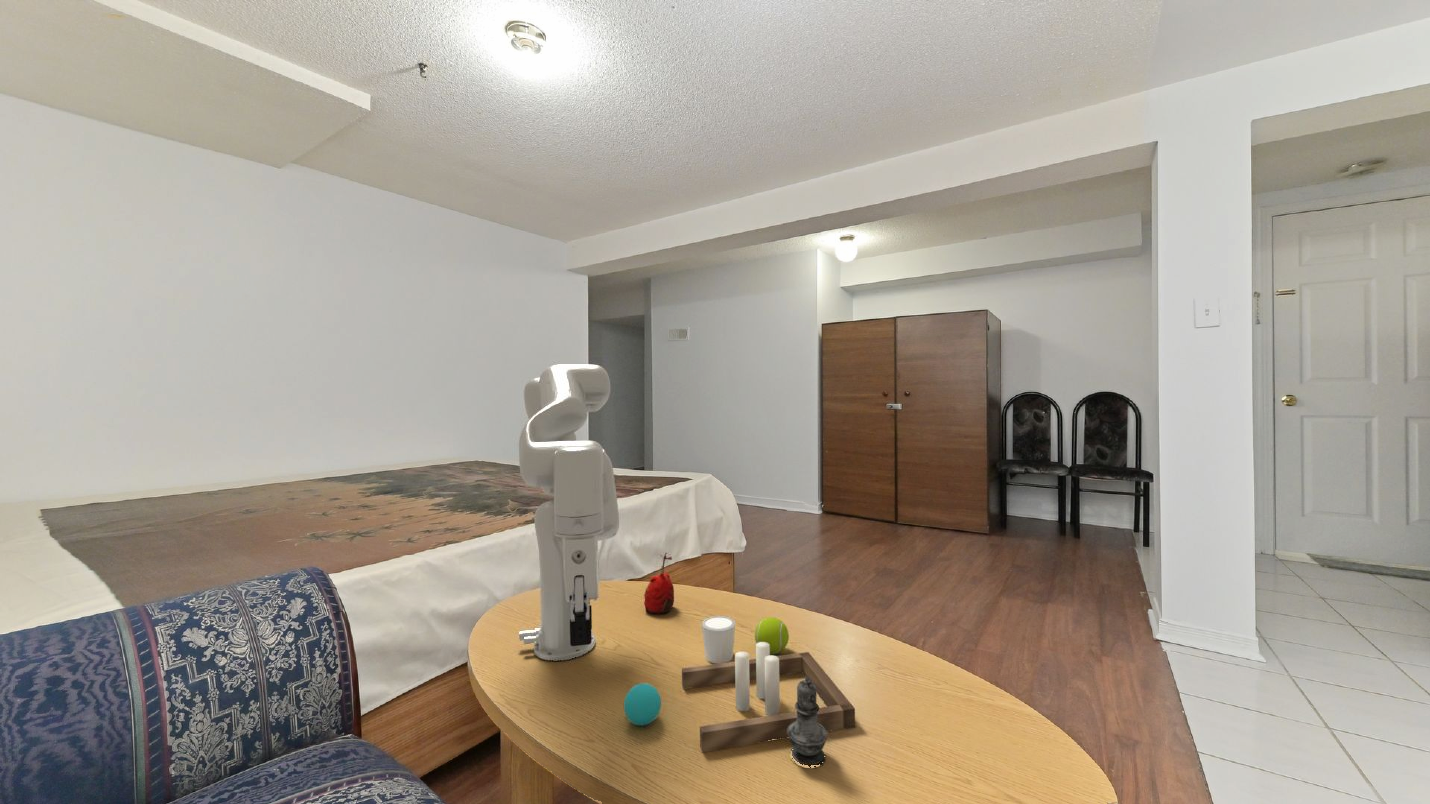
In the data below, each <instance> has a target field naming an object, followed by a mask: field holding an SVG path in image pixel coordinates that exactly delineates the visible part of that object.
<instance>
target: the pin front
mask: <svg viewBox="0 0 1430 804" xmlns="http://www.w3.org/2000/svg"><path fill="white" fill-rule="evenodd" d="M749 660H750V654H749V653H748V652H747V651H738V652H736V653H734V662H735V682H734V683H735V687H734V688H735V709H736V710H737V711H739V712H747V711H750V708H751V702H750V701H751V699H750V698H751V697H750V696H751V695H750V693H751V692H750V690H751V689H750V680H749Z"/></svg>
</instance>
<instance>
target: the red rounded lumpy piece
mask: <svg viewBox="0 0 1430 804" xmlns="http://www.w3.org/2000/svg"><path fill="white" fill-rule="evenodd" d="M667 554H668V552H665V554H664V555H662V554H660V556H661V557H662V559H663V560H662V565H661V566H660V567H661V572H660V574H658V575H652V576H651V577H650V581H649V583H648V584H647V587H646V588H645V590H644V594H643V596H644V602H643V603H644V609H645V611H646V612H649V613H651V614H653V613H654V615H660V614H661V615H662V614H667V613H668V612H670V611H671V610H672V608H673V606H674V603H675V588H674V584H673V581H672V580H671V578H670V577H671V576H670V574H669V573H665V562H666V560H669V561H672V560H673V558H672V556H670V557H669V556H668V557H667V556H666V555H667Z"/></svg>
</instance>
